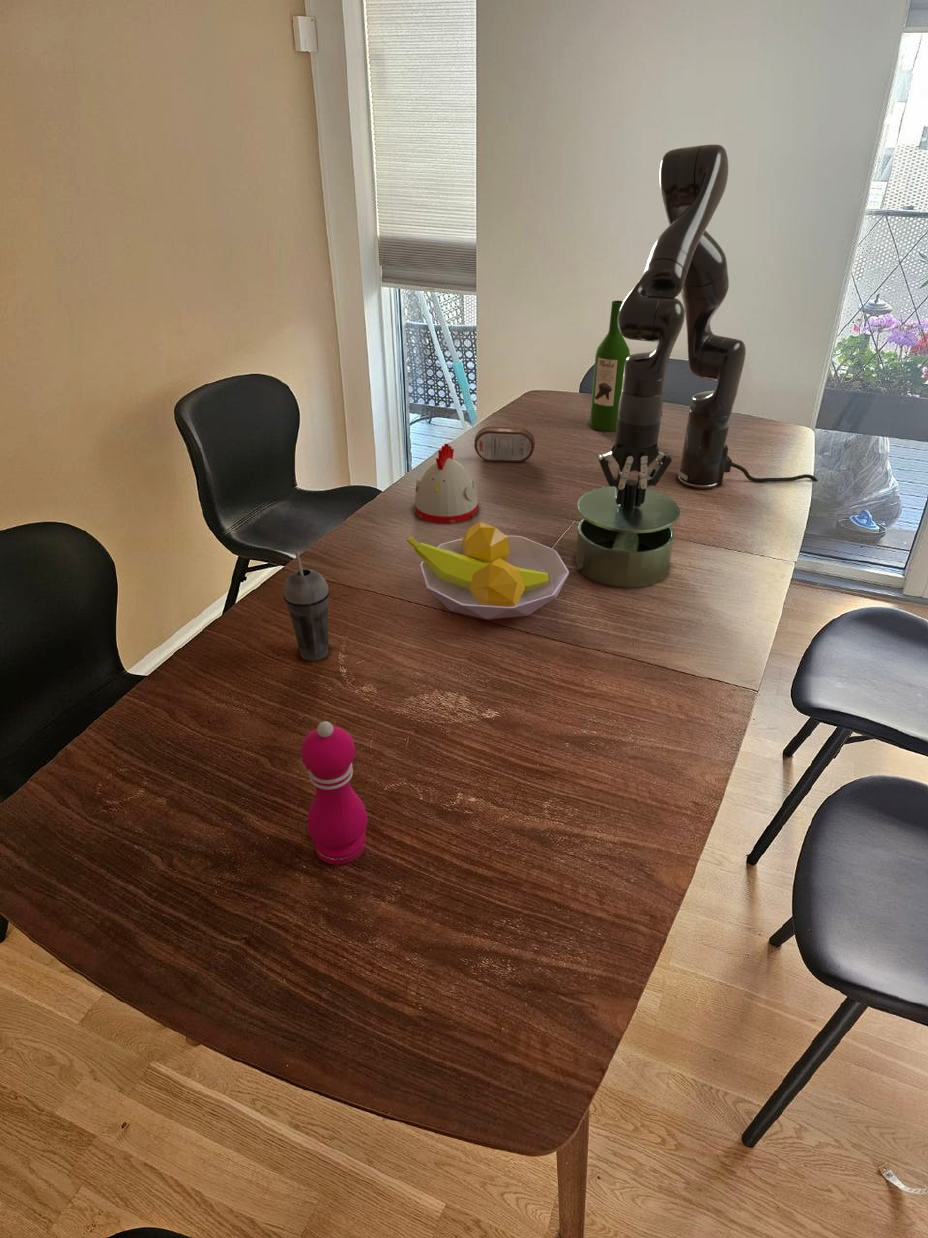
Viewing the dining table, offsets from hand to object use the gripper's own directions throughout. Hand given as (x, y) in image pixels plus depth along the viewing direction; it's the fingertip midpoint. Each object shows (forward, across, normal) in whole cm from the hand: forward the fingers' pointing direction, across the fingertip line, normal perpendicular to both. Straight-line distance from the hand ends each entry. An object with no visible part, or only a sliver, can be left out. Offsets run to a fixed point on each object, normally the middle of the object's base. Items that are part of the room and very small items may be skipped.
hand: (628, 504), depth 151 cm
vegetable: (+12, 0, 0) cm, 12 cm away
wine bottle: (+13, -11, -76) cm, 78 cm away
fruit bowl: (+13, +27, +10) cm, 32 cm away
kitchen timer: (+13, +34, -26) cm, 45 cm away
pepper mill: (+13, +49, +68) cm, 85 cm away
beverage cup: (+13, +57, +27) cm, 64 cm away
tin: (+13, +19, -53) cm, 58 cm away
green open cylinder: (+13, 0, 0) cm, 13 cm away
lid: (+1, 0, 0) cm, 1 cm away
